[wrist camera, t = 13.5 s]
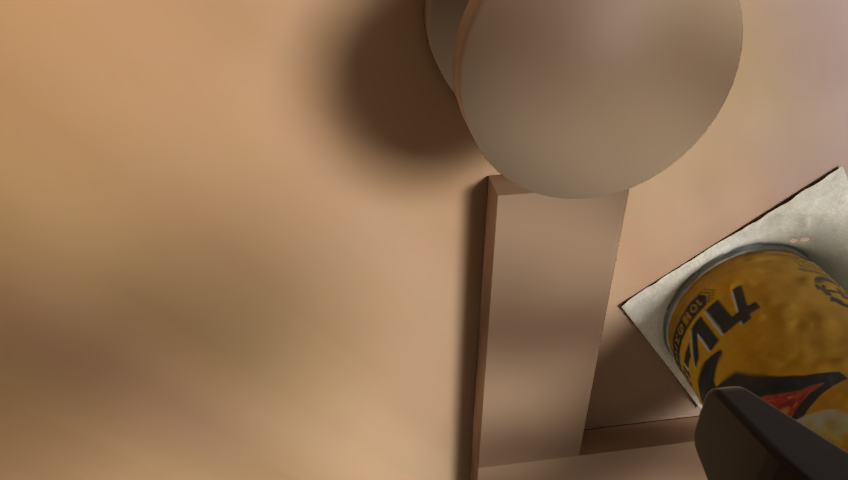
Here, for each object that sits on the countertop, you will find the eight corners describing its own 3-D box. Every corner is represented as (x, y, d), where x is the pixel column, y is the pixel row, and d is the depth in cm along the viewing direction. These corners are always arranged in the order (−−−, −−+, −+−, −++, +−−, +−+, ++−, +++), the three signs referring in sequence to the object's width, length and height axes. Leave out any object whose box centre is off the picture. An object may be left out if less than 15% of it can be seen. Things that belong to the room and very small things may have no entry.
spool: (625, 106, 21) (706, 189, 17) (423, 118, 20) (457, 208, 16) (664, -121, 18) (777, -87, 13) (424, -117, 17) (467, -79, 13)
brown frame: (890, 450, 33) (909, 472, 32) (468, 507, 30) (474, 531, 29) (1064, 135, 24) (1097, 150, 23) (488, 176, 22) (498, 195, 21)
